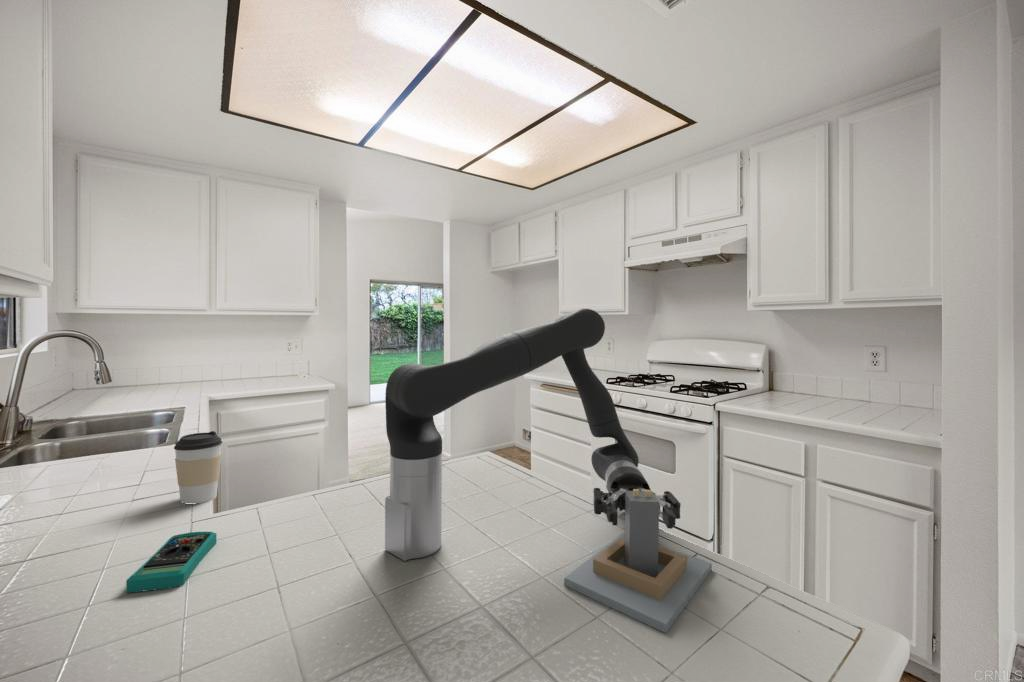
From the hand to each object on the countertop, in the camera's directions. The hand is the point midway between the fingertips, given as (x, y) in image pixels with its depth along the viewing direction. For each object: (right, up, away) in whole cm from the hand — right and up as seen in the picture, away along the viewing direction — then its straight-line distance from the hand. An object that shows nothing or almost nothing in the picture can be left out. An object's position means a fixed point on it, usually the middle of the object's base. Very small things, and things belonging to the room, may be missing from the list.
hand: (642, 521), depth 68 cm
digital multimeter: (-77, -9, +3) cm, 77 cm away
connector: (0, -8, +1) cm, 9 cm away
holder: (0, -10, +1) cm, 10 cm away
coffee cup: (-93, -8, +31) cm, 98 cm away
